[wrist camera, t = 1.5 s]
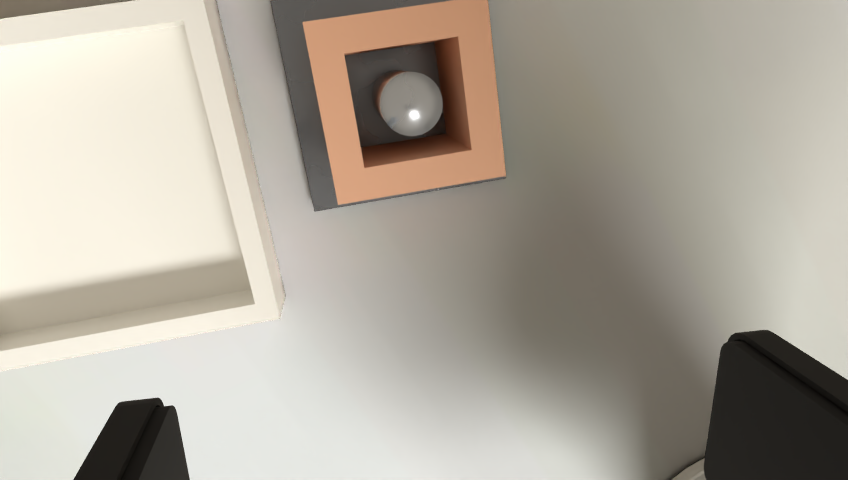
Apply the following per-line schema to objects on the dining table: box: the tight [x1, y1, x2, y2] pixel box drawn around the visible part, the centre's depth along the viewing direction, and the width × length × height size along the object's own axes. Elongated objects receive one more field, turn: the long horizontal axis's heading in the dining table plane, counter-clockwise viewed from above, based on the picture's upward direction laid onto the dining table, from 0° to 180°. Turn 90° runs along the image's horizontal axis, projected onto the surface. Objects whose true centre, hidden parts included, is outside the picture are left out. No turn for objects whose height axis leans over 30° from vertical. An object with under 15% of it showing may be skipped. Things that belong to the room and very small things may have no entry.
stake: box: [271, 0, 506, 211], centre depth 26 cm, size 10×10×7 cm
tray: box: [0, 0, 286, 372], centre depth 27 cm, size 15×15×3 cm
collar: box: [303, 0, 506, 205], centre depth 26 cm, size 7×7×6 cm
